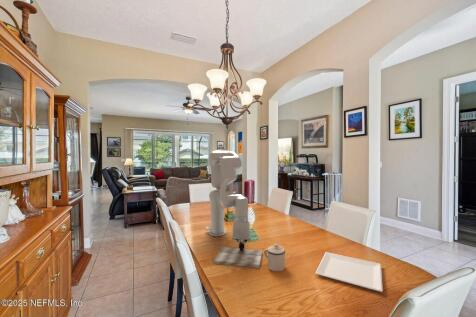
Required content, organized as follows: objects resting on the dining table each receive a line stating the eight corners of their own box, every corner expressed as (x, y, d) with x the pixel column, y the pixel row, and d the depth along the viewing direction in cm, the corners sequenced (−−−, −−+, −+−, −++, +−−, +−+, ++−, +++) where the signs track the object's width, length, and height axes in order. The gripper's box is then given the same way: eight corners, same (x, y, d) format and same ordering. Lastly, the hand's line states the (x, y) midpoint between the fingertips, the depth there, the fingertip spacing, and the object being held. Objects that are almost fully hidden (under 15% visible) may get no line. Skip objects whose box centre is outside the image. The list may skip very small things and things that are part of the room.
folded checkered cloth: (219, 254, 124) (219, 251, 124) (222, 249, 129) (222, 247, 129) (261, 258, 119) (261, 255, 119) (262, 253, 125) (262, 250, 124)
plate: (382, 296, 87) (382, 291, 87) (315, 277, 101) (315, 272, 101) (380, 267, 109) (380, 263, 109) (325, 255, 123) (325, 251, 123)
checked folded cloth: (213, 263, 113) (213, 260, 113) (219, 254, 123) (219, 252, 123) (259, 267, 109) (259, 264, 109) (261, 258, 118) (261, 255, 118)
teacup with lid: (289, 267, 109) (288, 244, 109) (278, 274, 103) (277, 249, 103) (270, 259, 118) (270, 237, 118) (259, 264, 112) (258, 242, 111)
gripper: (227, 219, 123) (227, 251, 124) (253, 221, 120) (253, 253, 121) (230, 215, 131) (230, 246, 131) (255, 217, 128) (255, 248, 128)
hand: (241, 249), depth 126 cm, fingers closed
